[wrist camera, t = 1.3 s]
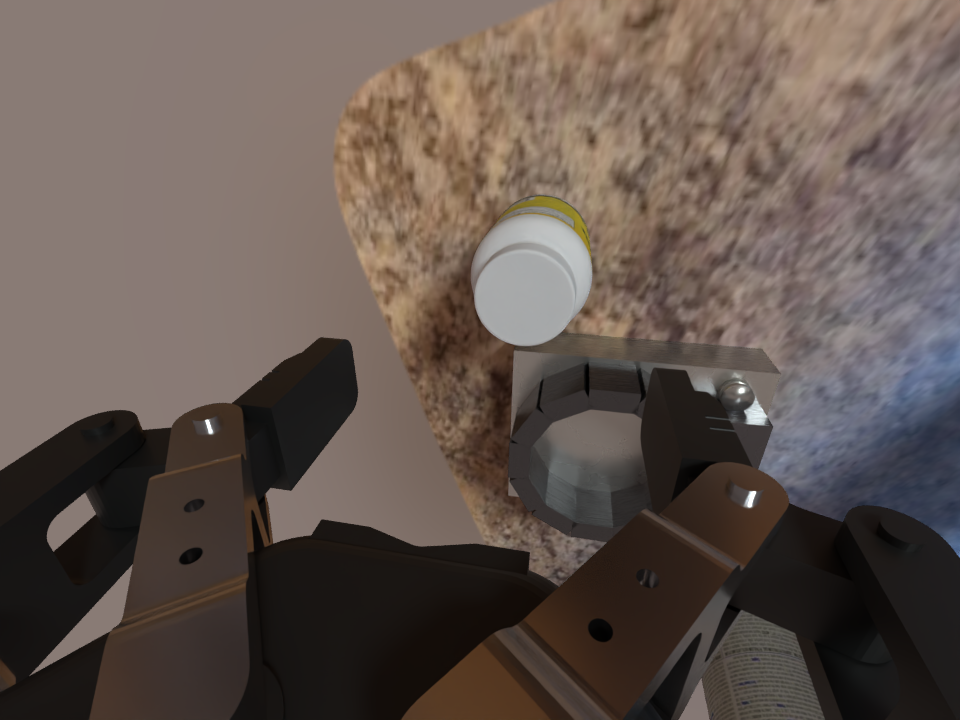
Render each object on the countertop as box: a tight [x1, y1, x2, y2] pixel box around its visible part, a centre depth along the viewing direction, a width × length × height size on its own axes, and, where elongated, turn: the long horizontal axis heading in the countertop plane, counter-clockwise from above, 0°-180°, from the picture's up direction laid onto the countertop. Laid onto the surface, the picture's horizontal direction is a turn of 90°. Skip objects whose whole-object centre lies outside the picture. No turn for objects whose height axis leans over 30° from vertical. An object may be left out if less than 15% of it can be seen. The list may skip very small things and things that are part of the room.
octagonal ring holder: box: [508, 333, 781, 542], centre depth 28 cm, size 14×11×6 cm
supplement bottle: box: [471, 195, 592, 346], centre depth 22 cm, size 5×5×10 cm
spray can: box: [701, 611, 825, 720], centre depth 26 cm, size 7×7×20 cm
